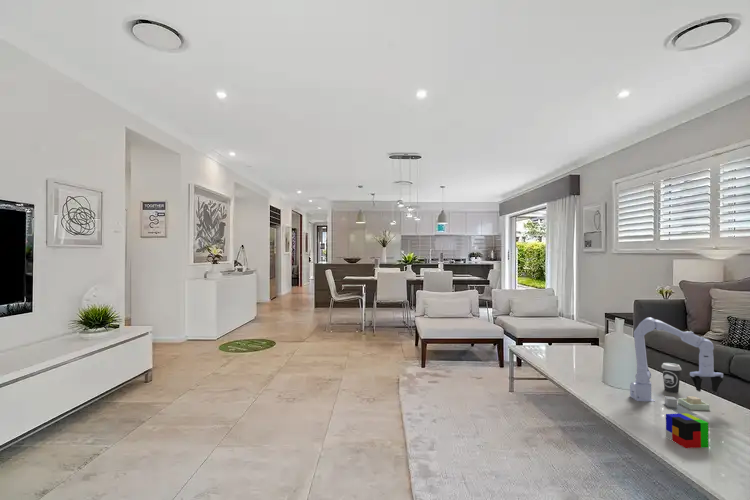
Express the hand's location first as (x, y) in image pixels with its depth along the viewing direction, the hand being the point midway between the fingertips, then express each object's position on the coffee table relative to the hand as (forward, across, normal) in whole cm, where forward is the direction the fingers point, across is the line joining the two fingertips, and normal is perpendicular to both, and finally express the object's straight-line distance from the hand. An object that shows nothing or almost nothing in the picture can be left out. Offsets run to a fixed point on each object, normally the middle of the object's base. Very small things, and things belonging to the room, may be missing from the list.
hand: (706, 391), depth 206 cm
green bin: (+10, -3, +5) cm, 11 cm away
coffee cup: (+10, +2, +31) cm, 33 cm away
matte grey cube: (+10, -14, +5) cm, 18 cm away
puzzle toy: (+10, -33, -37) cm, 51 cm away
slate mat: (+10, -13, 0) cm, 16 cm away
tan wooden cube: (+10, -3, +5) cm, 11 cm away
